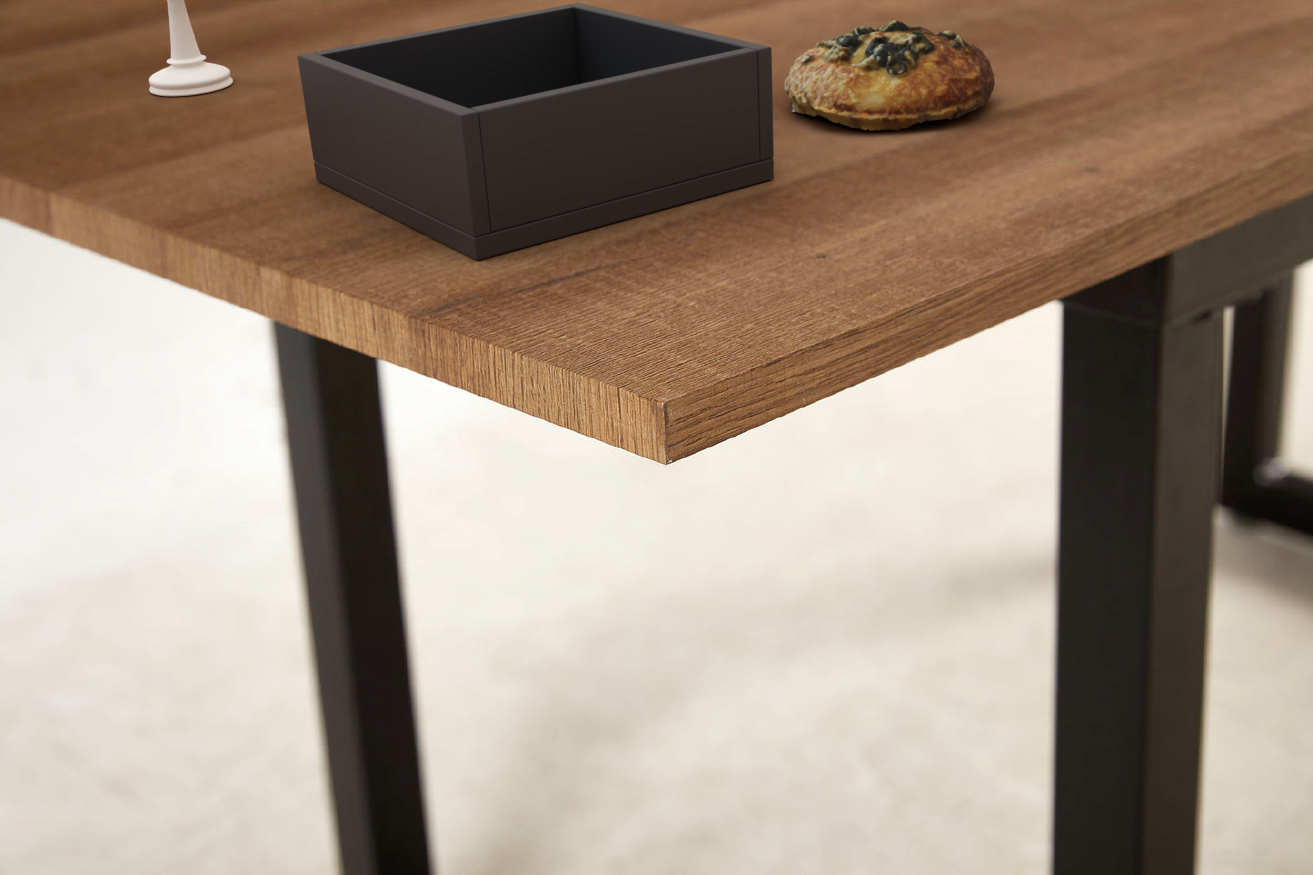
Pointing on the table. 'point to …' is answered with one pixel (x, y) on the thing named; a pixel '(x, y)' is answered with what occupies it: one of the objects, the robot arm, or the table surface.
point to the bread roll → (890, 77)
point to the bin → (538, 123)
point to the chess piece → (186, 61)
